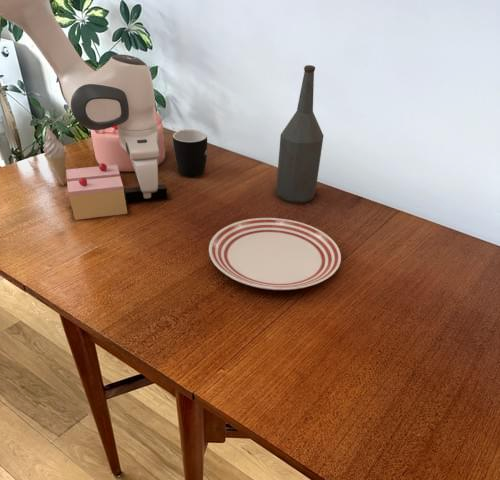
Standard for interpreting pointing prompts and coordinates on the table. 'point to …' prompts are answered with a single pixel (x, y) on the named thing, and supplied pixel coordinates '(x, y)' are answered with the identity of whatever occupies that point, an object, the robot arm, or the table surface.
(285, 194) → the bottle
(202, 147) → the mug
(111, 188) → the cake
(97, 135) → the cake
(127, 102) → the robot arm
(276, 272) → the dinner plate
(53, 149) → the ice cream cone
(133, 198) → the knife
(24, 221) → the table surface
